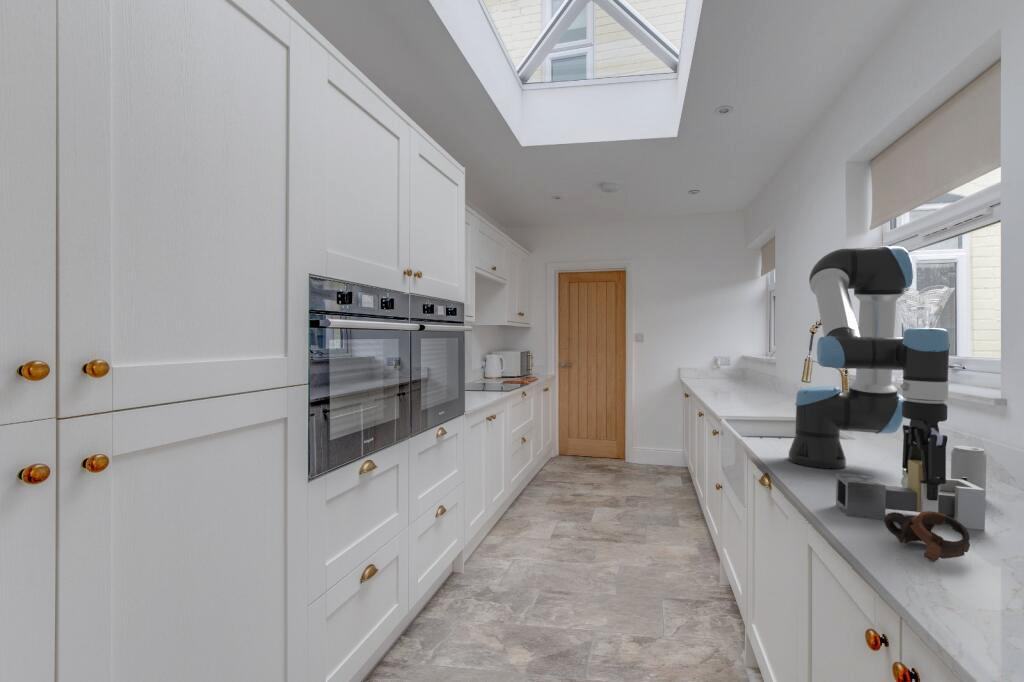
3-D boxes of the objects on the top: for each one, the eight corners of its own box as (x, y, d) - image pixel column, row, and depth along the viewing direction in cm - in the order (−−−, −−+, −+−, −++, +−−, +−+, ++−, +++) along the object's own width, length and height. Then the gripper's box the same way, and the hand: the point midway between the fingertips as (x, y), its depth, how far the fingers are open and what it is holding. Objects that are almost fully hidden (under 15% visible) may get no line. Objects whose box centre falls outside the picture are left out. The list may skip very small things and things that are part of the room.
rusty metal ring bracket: (958, 551, 93) (976, 520, 89) (955, 590, 87) (975, 559, 83) (880, 520, 100) (893, 490, 96) (872, 554, 94) (886, 524, 89)
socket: (937, 514, 111) (938, 477, 111) (962, 516, 110) (963, 479, 110) (957, 527, 104) (958, 487, 104) (984, 530, 102) (985, 490, 102)
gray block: (835, 505, 116) (836, 473, 116) (871, 508, 114) (872, 476, 114) (847, 515, 109) (847, 481, 109) (885, 519, 107) (886, 485, 107)
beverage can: (989, 502, 120) (990, 451, 120) (953, 498, 123) (955, 448, 123) (981, 495, 126) (982, 446, 126) (947, 491, 129) (948, 443, 129)
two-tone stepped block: (863, 501, 114) (864, 456, 114) (955, 510, 109) (956, 463, 109) (871, 507, 109) (872, 461, 109) (967, 517, 105) (968, 468, 104)
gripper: (885, 395, 118) (883, 495, 119) (925, 405, 101) (922, 522, 101) (923, 396, 116) (921, 498, 117) (971, 407, 99) (968, 527, 99)
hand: (921, 509), depth 109 cm, fingers open, 5 cm apart
